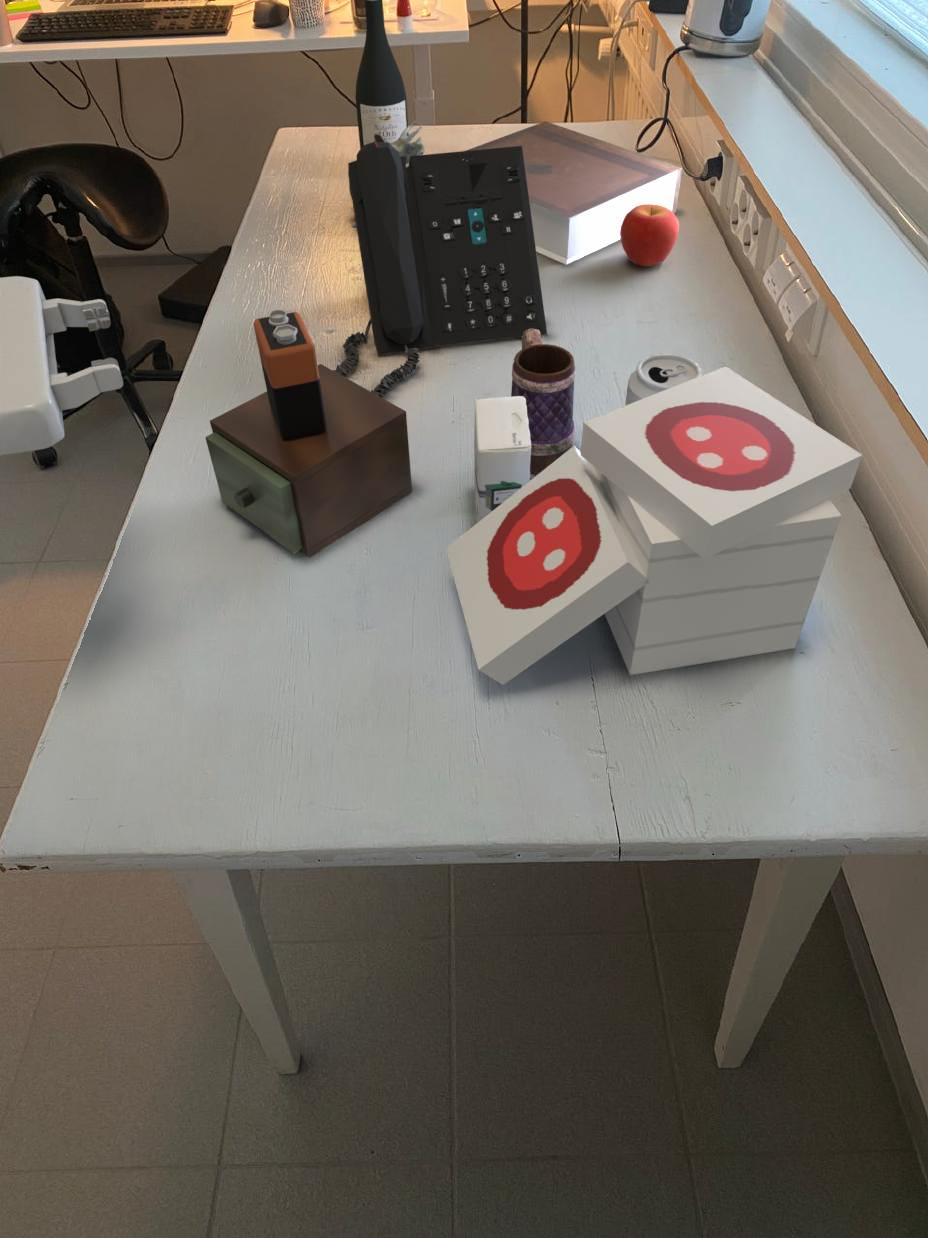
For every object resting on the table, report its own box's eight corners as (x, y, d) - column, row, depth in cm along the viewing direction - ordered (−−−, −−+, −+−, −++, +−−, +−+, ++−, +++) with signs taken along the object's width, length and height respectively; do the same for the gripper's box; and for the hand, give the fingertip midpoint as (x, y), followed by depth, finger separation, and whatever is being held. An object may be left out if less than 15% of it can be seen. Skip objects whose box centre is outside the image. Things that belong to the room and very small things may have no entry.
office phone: (324, 416, 106) (298, 242, 91) (302, 299, 125) (278, 140, 111) (572, 383, 110) (585, 211, 95) (514, 274, 129) (517, 117, 114)
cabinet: (309, 558, 90) (293, 476, 82) (230, 500, 96) (209, 420, 89) (412, 491, 96) (406, 411, 89) (332, 442, 103) (320, 363, 95)
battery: (283, 442, 86) (263, 345, 79) (269, 404, 90) (249, 308, 83) (329, 433, 87) (314, 335, 80) (312, 395, 91) (297, 299, 84)
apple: (681, 271, 129) (689, 215, 123) (625, 276, 128) (631, 219, 122) (665, 247, 134) (672, 191, 128) (611, 251, 133) (616, 196, 128)
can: (610, 450, 100) (622, 350, 92) (678, 444, 101) (696, 345, 92) (626, 493, 95) (640, 392, 87) (698, 487, 96) (719, 386, 87)
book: (543, 162, 156) (545, 121, 152) (676, 212, 142) (682, 167, 137) (434, 206, 145) (433, 162, 141) (566, 264, 131) (569, 217, 126)
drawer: (283, 560, 88) (269, 494, 82) (212, 507, 94) (194, 442, 88) (390, 492, 95) (384, 427, 89) (317, 447, 100) (307, 383, 95)
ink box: (473, 493, 96) (472, 394, 87) (522, 491, 96) (525, 392, 87) (477, 549, 90) (476, 448, 81) (529, 547, 90) (533, 446, 81)
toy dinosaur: (361, 254, 134) (353, 173, 126) (311, 243, 137) (300, 164, 129) (430, 196, 148) (427, 120, 140) (384, 188, 150) (378, 113, 142)
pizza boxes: (444, 565, 89) (435, 402, 75) (742, 521, 92) (783, 358, 79) (484, 723, 75) (483, 558, 62) (831, 665, 79) (898, 497, 66)
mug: (578, 472, 98) (587, 371, 89) (512, 478, 97) (514, 377, 89) (559, 417, 105) (565, 318, 96) (497, 423, 104) (497, 324, 96)
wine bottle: (413, 179, 153) (401, -41, 131) (365, 184, 152) (345, -37, 130) (406, 161, 158) (393, -53, 137) (360, 165, 157) (339, -50, 136)
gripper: (-108, 417, 59) (115, 372, 62) (-93, 276, 72) (90, 245, 75) (-65, 495, 63) (141, 450, 66) (-59, 349, 77) (113, 318, 80)
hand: (114, 340), depth 71 cm, fingers open, 8 cm apart
